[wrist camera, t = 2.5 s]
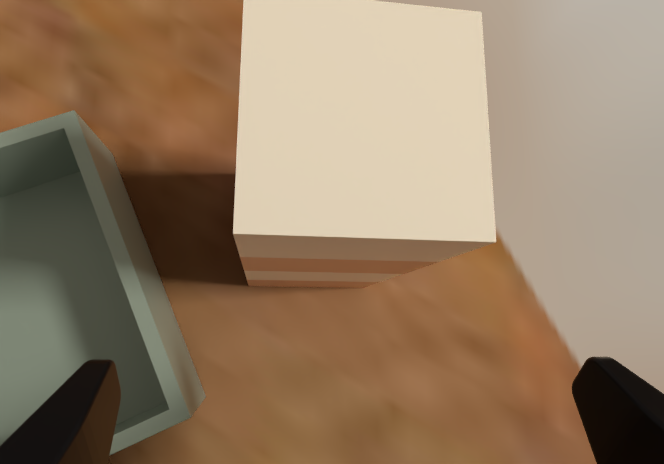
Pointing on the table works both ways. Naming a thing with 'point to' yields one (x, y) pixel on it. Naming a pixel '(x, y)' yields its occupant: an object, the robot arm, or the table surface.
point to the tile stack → (359, 141)
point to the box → (82, 284)
